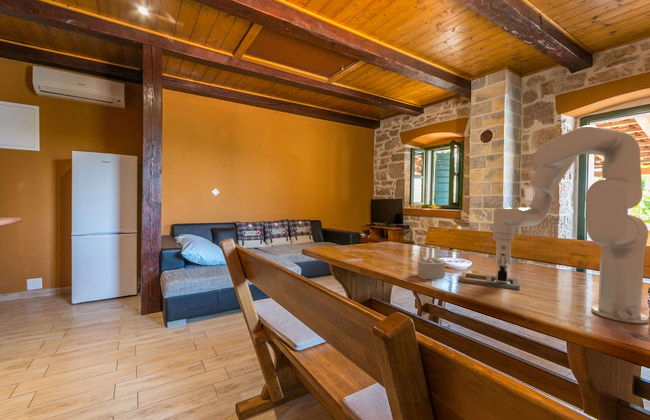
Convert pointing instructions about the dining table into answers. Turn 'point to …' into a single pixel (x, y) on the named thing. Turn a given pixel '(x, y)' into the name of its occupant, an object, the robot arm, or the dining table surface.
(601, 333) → the dining table surface
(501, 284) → the grey slotted board
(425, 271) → the lumpy-topped squat cylinder
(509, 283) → the flanged peg
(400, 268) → the dining table surface
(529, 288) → the dining table surface
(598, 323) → the dining table surface
